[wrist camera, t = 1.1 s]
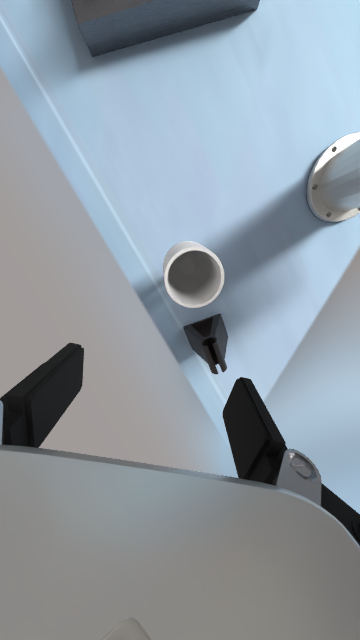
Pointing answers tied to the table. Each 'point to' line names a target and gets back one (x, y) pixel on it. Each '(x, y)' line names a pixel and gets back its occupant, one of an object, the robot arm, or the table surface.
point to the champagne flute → (192, 274)
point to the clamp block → (147, 19)
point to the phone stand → (209, 341)
